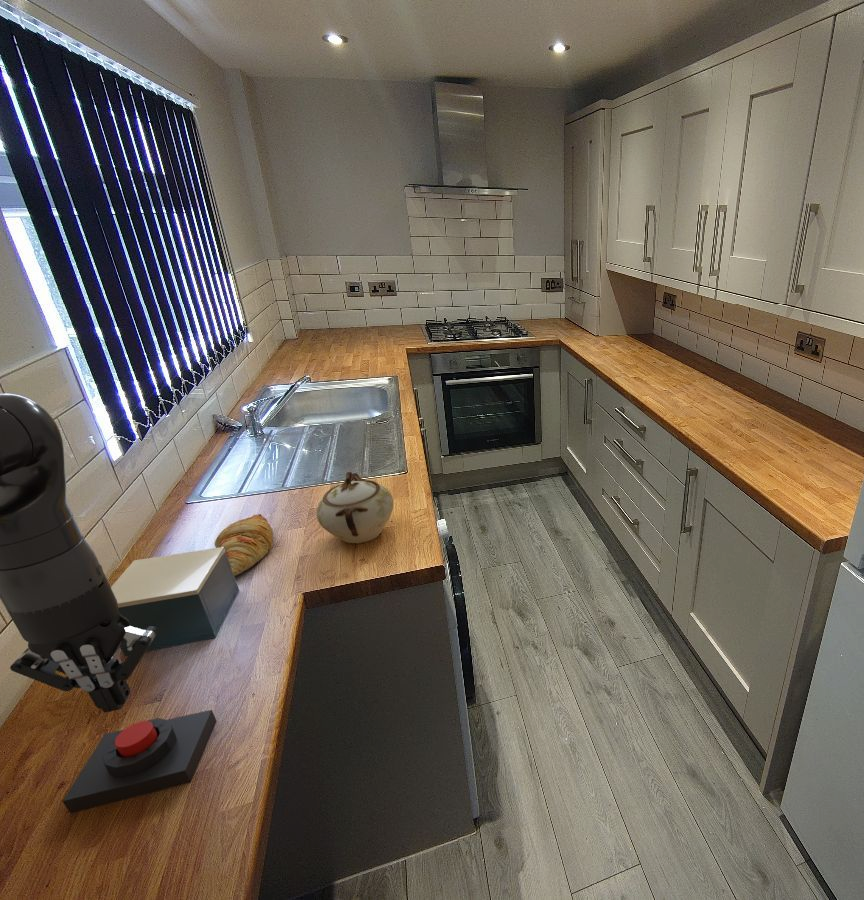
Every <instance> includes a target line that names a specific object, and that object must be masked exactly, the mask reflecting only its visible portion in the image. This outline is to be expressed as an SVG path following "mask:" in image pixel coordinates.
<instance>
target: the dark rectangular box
mask: <svg viewBox="0 0 864 900" xmlns="http://www.w3.org/2000/svg"><path fill="white" fill-rule="evenodd" d="M239 593H240V588H239V585H238V583H237V580H236V576H234V574H233V571H232V568H231V566H230V563H229V560H228V557H227V554H226V552H225V551H224V553H223V554H222V556H221V558H220V559H219V561H218V563H217V564H216V566H215V567H214V569H213V571H212V572H211V574H210V576H209V577H208V579H207V580H206V582H205V584H204V585H203V587H202V589H201V590H200V592H199V594H196V595H190V596H184V597H178V598H172V599H166V600H161V601H155V602H149V603H143V604H137V605H131V606H126V607H120V608H118V610H119V613H120V614H121V615H122V616H123V617H125V618H127V619H128V620H129V622H130V626H132V627H135V628H139V629H143V630H145V629H146V628H147V627H149V626H154V627H156V628H157V629H158V632H157V634H156V636H155V637H154V639H153V640H152V642H151V644H150V645H149V647H148V649H147V650H146V652H149V651H154V650H159V649H164V648H169V647H174V646H180V645H185V644H189V643H190V644H191V643H195V642H200V641H205V640H209V639H216V637H217V636H218V634H219V632H220V630H221V628H222V626H223V624H224V622H225V620H226V618H227V616H228V614H229V613H230V610H231V608H232V606H233V604H234V602H235V600H236V599H237V596H238V594H239ZM126 644H127V640H126V639H125V638H124V639H123V641H122V643H121V645H120V650H121V652H122V654H123V656H128V655H129V654H130V652H131V651H129V650H127V648H128V647H127V645H126Z"/></svg>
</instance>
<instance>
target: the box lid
mask: <svg viewBox="0 0 864 900" xmlns="http://www.w3.org/2000/svg"><path fill="white" fill-rule="evenodd" d="M224 551H225V549H224V547H219V548H216V547H214V548H207V549H201V550H194V551H186V552H180V553H175V554H174V553H173V554H168V555H161V556H154V557H147V558H141V559H135V560H133V561H132V562H131V563H130V565H128V567H127V568H126V569H125V570H124V571H123V572H122V574H121V575H120V576H119V577H118V578H117V579H116V580H115V582H114V583H113V584H112V585H111V586H110V587H111V589H112V591H113V593H114V595H115V597H116V599H117V603H118V608H120V607H126V606H131V605H137V604H143V603H149V602H155V601H161V600H166V599H172V598H178V597H184V596H190V595H196V594H199V592H200V590H201V589H202V587H203V585H204V584H205V582H206V580H207V579H208V577H209V576H210V574H211V572H212V571H213V569H214V567H215V566H216V564H217V563H218V561H219V559H220V558H221V556H222V554H223V553H224Z"/></svg>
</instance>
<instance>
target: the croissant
mask: <svg viewBox="0 0 864 900" xmlns="http://www.w3.org/2000/svg"><path fill="white" fill-rule="evenodd" d="M273 535H274V534H273V528H272V527H271V525H270V523H269V522H268V519H267V518H266V517H265V516H263V515H262V514H261V513H258V514H253V515H252V516H250V517H247V518H244V519H240V520H237V521H235V522H233V523H230V524H229V525H228V526H226V527H225V528H223V530H222V531H220V532H219V534H218V535H217V537H216V538H215V540H214V544H213V545H214V548H219V547H224V549H225V552H226V554H227V557H228V560H229V563H230V566H231V568H232V571H233V574H234V577H236V576H238V575H240V574H242V573H243V572H245V571H247V570H249V569H250V568H252V567H253V566H254V565H255V564H257V563H258V562H259V561H261V560H262V559H263V558H264V557H265V556H266V555H267V554H268V553H270V552H271V551H272V550H273V540H274V539H273Z"/></svg>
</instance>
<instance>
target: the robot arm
mask: <svg viewBox="0 0 864 900" xmlns="http://www.w3.org/2000/svg"><path fill="white" fill-rule="evenodd" d="M64 447H65V446H64V440H63V436H62V434H61V431H60V428H59V426H58V424H57V422H56V421H55V419H54V418H53V417H52V415H51V414H50V413H49V412H48V411H47V410H46V409H45V408H44V407H43V406H41V405H40V404H39V403H37V402H35V401H34V400H32V399H30V398H28V397H25V396H23V395H19V394H15V393H0V601H1V603H2V605H3V606H4V608H5V610H6V611H7V613H8V615H9V617H10V618H11V620H12V621H13V623H14V626H15V627H16V628H17V631H18V632H19V635H20V636H21V637H22V639H23V640H24V641H25V642H26V643H27V648H26V649H25V650H24V651H23V652H22V653H21V654H20V655H19V656H18V657H17V658H16V660H15V661H14V662H13V663H12V664H11V665H10V667H9V669H10V671H11V672H14V673H16V674H18V675H22V676H23V677H26V678H29V679H31V680H34V681H36V682H39V683H42V684H44V685H47V686H49V687H52V688H55V689H57V690H60V691H62V692H70V691H72V690H73V689H81V690H82V691H83V692H87V693H88V695H89V697H90V699H91V700H92V702H93V704H94V707H96V708H98V709H99V710H101V711H102V712H103V713H104V714H105V713H109V712H115V711H119V710H122V708H123V707H124V705H126V704H125V703H126V702H127V701H128V699H129V698H130V696H131V694H132V689H131V688H130V686H129V684H128V682H127V680H128V679H129V678H130V677H131V675H132V674H133V673H134V671H135V669H136V668H137V666H138V665H139V664H140V662H141V660H142V658H143V656H144V655H145V653H146V652H147V651H146V650H147V649H148V647H149V645H150V644H151V642H152V640H153V639H154V637H155V636H156V634H157V632H158V629H157V628H156V627H154V626H149V627H147V628H146V629H145V630H143V629H139V628H135V627H132V626H130V622H129V620H128V619H127V618H125V617H123V616H122V615H121V614H120V613H119V610H118V603H117V599H116V597H115V595H114V593H113V591H112V589H111V587H112V586H111V585H110V583H109V580H108V579H107V576H106V574H105V572H104V569H103V566H102V564H100V560H99V559H98V557H97V555H96V553H95V551H94V549H93V548H92V547H91V545H90V544H89V543H88V541H87V539H85V537H84V535H83V533H82V531H81V528H80V526H79V524H78V522H77V520H76V518H75V516H74V513H73V512H72V510H71V508H70V506H69V504H68V498H67V496H68V495H67V477H66V461H65V460H66V459H65V449H64ZM124 638H125V639H126V640H127V644H126V645H127V647H128V648H127V650H129V651H131V652H130V654H129V655H127V657H126V659H125V660H124V661H122V659H121V652H122V650H121V648H120V645H121V643H122V641H123V639H124ZM56 672H59V673H62V674H64V675H66V677H65V676H63V675H60V674H57V673H56Z"/></svg>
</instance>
